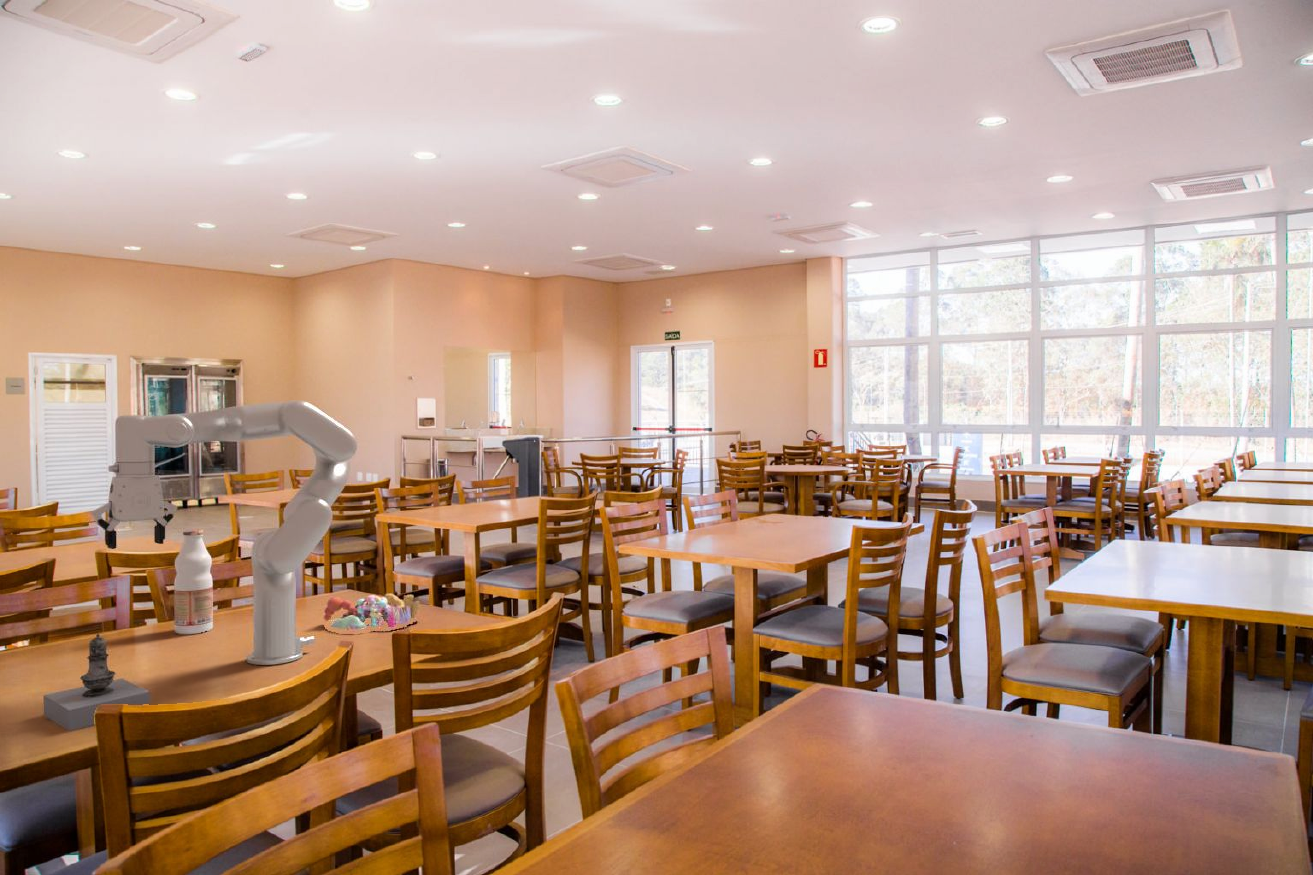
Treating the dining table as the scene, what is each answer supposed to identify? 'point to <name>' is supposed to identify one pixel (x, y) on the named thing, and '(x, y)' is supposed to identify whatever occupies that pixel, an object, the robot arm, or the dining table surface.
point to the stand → (89, 703)
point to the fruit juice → (193, 586)
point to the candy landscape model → (372, 611)
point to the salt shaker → (97, 670)
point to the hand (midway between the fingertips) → (135, 545)
